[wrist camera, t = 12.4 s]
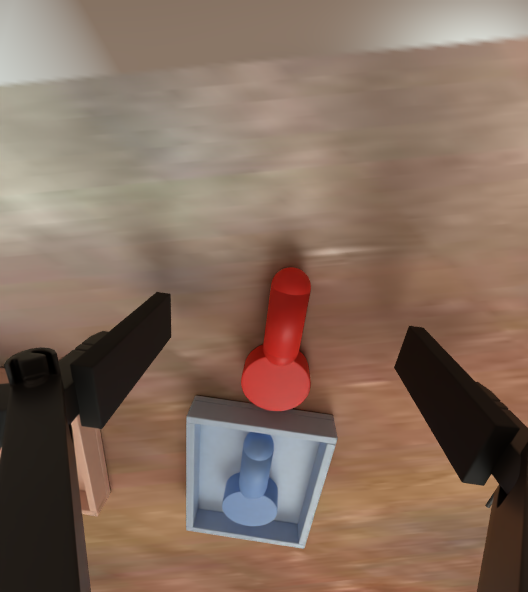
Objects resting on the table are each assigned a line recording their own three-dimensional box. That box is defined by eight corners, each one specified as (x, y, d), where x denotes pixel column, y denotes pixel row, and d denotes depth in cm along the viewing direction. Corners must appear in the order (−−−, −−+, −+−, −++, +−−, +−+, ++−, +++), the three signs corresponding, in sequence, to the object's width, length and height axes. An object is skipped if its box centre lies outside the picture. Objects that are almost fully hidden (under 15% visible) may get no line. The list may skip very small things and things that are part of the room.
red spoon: (255, 257, 16) (251, 269, 14) (331, 267, 16) (338, 280, 14) (242, 389, 20) (237, 413, 18) (302, 398, 20) (304, 423, 18)
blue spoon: (231, 418, 20) (225, 444, 18) (291, 426, 20) (291, 454, 18) (224, 501, 24) (218, 530, 22) (274, 508, 24) (273, 538, 22)
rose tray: (-40, 361, 21) (-72, 378, 19) (92, 380, 20) (72, 399, 19) (5, 476, 26) (-17, 499, 24) (110, 492, 26) (97, 516, 24)
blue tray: (195, 395, 20) (186, 416, 18) (333, 414, 20) (338, 438, 18) (193, 505, 25) (186, 530, 24) (303, 522, 25) (304, 549, 23)
